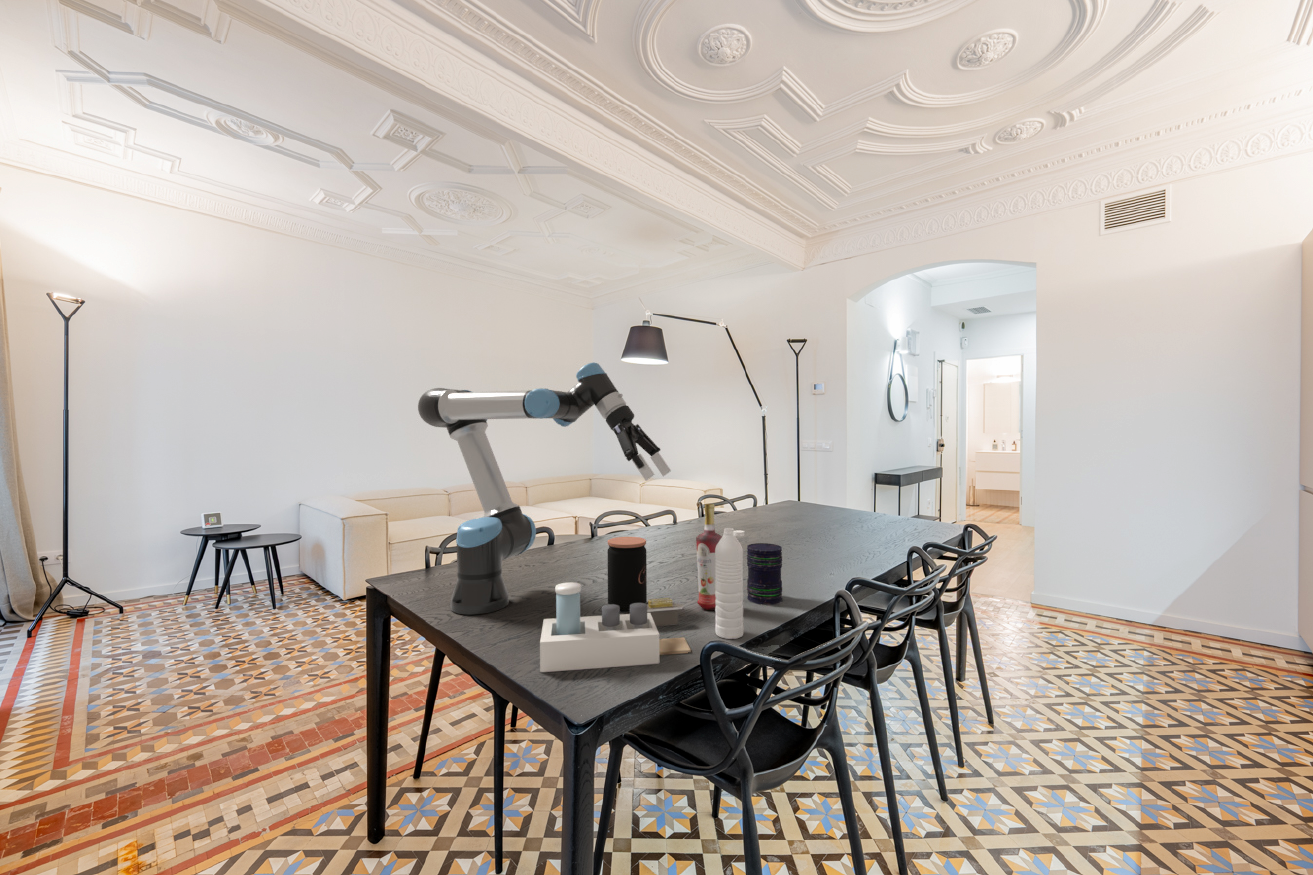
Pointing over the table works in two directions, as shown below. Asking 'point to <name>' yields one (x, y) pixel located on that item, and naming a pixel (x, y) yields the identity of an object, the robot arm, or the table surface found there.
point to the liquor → (707, 560)
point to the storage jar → (764, 573)
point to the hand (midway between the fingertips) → (659, 475)
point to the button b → (638, 615)
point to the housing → (598, 645)
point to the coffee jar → (627, 572)
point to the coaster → (673, 646)
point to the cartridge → (568, 608)
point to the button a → (610, 616)
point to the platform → (663, 612)
